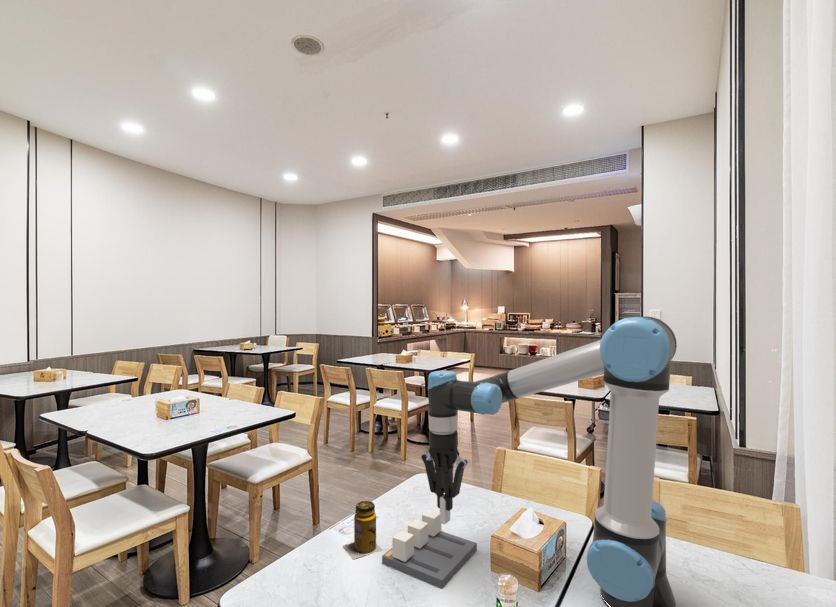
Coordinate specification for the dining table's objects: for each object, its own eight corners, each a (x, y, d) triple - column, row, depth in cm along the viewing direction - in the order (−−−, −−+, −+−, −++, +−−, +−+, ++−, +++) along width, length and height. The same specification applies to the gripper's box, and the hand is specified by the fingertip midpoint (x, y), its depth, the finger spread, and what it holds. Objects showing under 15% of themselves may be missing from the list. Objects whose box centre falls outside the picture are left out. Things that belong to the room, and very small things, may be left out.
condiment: (381, 549, 117) (381, 506, 117) (353, 560, 112) (353, 514, 112) (369, 537, 123) (369, 496, 123) (342, 547, 118) (342, 503, 118)
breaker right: (441, 530, 122) (441, 512, 122) (434, 536, 119) (434, 518, 119) (429, 526, 124) (429, 509, 124) (422, 532, 121) (422, 514, 121)
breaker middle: (428, 541, 116) (428, 523, 116) (420, 548, 113) (420, 529, 113) (416, 537, 118) (416, 519, 118) (407, 543, 115) (407, 525, 115)
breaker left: (414, 554, 110) (414, 534, 110) (405, 561, 107) (405, 541, 107) (401, 549, 112) (401, 530, 112) (392, 556, 109) (392, 537, 109)
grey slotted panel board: (476, 550, 116) (476, 542, 116) (441, 588, 100) (441, 580, 100) (421, 531, 126) (421, 524, 126) (382, 563, 110) (382, 555, 110)
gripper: (472, 430, 111) (474, 521, 110) (429, 424, 118) (431, 509, 118) (458, 437, 105) (460, 534, 104) (414, 430, 112) (416, 521, 111)
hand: (445, 521), depth 111 cm, fingers closed
